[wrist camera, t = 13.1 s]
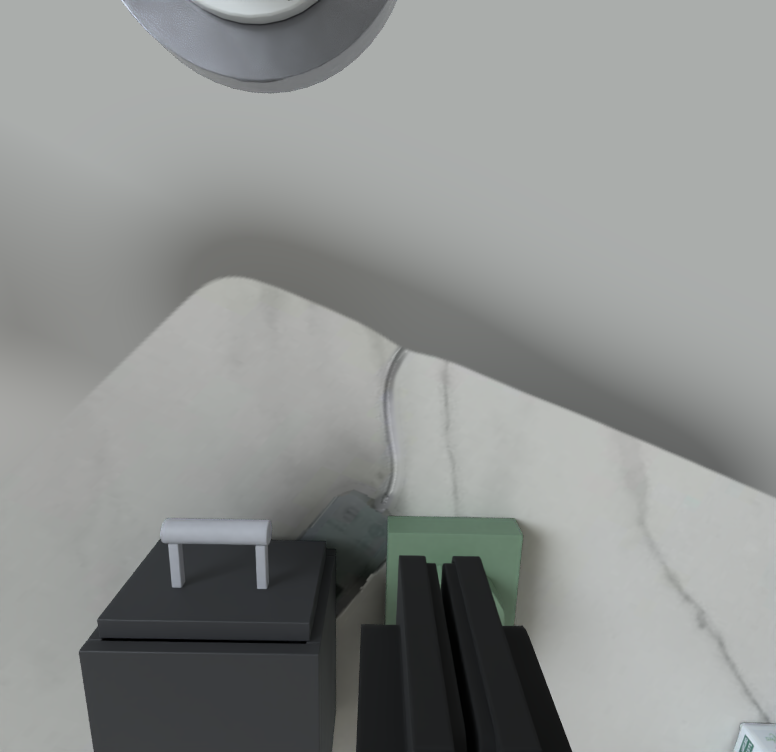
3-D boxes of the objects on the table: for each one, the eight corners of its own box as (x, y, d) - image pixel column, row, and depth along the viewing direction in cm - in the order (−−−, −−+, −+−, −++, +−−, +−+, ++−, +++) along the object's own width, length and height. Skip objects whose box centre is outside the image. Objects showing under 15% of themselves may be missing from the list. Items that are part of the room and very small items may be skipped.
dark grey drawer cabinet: (158, 545, 35) (77, 651, 26) (335, 548, 35) (319, 655, 26) (175, 710, 39) (108, 855, 29) (335, 712, 39) (320, 857, 30)
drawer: (155, 480, 33) (86, 548, 25) (325, 483, 33) (308, 552, 26) (175, 696, 37) (122, 810, 30) (326, 698, 37) (312, 812, 30)
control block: (387, 515, 35) (388, 548, 31) (515, 518, 35) (531, 551, 31) (383, 646, 37) (384, 691, 33) (502, 648, 37) (515, 693, 34)
